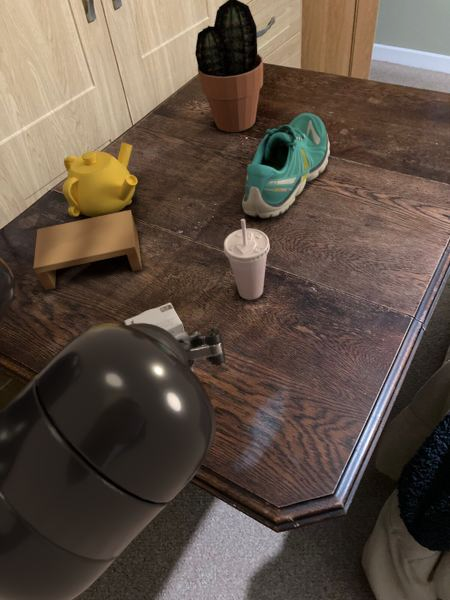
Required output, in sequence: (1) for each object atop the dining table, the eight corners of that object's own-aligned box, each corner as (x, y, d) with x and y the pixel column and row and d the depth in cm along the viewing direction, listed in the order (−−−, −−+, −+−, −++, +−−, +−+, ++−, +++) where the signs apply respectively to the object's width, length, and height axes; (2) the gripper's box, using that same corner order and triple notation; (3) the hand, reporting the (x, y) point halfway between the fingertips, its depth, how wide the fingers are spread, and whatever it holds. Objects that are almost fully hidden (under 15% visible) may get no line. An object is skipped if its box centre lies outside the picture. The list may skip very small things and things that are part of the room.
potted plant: (221, 105, 117) (208, -15, 99) (275, 111, 112) (271, -13, 94) (194, 133, 110) (174, 9, 91) (250, 142, 105) (241, 12, 86)
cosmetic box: (155, 404, 63) (133, 347, 54) (144, 378, 66) (120, 320, 57) (199, 383, 65) (184, 325, 56) (186, 359, 68) (169, 300, 59)
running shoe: (340, 145, 100) (344, 90, 92) (292, 232, 83) (292, 174, 75) (288, 138, 104) (287, 84, 96) (232, 220, 87) (226, 163, 79)
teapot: (147, 220, 90) (133, 167, 82) (73, 236, 89) (51, 183, 81) (141, 178, 100) (127, 127, 91) (74, 192, 99) (54, 141, 91)
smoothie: (225, 303, 74) (214, 231, 64) (235, 274, 78) (226, 201, 68) (267, 308, 72) (263, 234, 62) (275, 277, 76) (272, 204, 66)
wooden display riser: (45, 290, 80) (33, 268, 76) (48, 251, 87) (37, 229, 83) (142, 269, 81) (134, 246, 77) (137, 232, 88) (130, 209, 84)
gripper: (220, 306, 36) (211, 301, 52) (24, 350, 35) (77, 330, 51) (242, 407, 36) (227, 370, 52) (48, 452, 35) (93, 400, 51)
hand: (153, 350), depth 52 cm, fingers open, 8 cm apart
